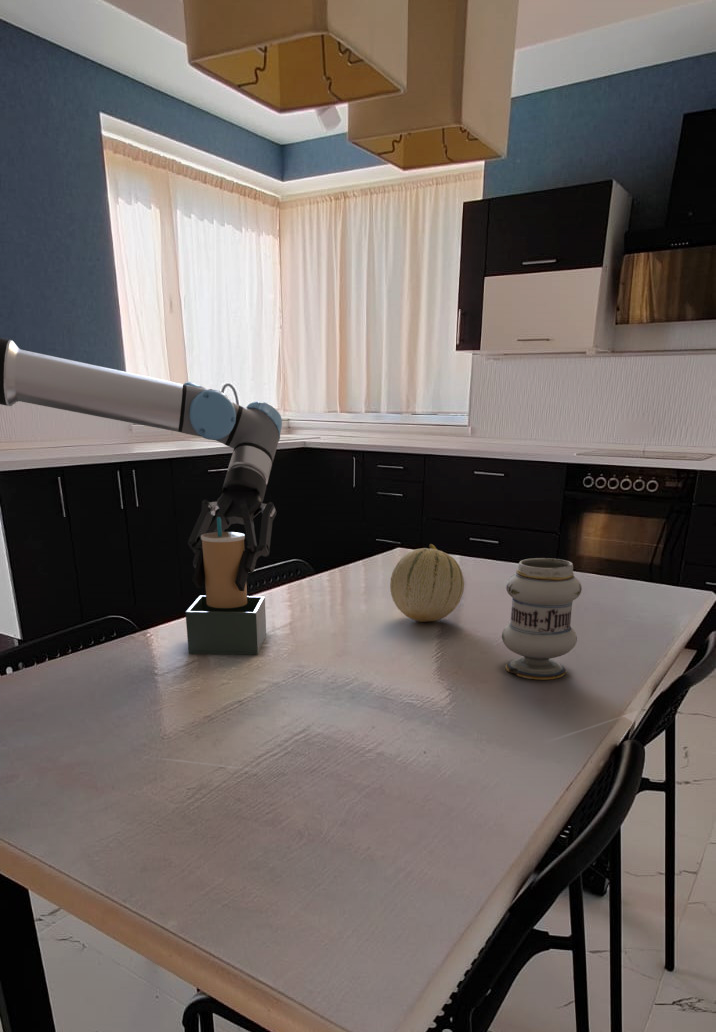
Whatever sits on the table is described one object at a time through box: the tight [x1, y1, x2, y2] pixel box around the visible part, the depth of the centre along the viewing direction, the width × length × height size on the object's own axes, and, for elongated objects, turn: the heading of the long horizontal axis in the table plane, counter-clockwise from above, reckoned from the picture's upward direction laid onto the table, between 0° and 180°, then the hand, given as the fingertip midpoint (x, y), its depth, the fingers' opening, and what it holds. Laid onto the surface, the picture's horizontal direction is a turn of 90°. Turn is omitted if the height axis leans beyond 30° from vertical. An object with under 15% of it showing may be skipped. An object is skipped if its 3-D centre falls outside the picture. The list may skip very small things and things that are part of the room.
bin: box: [185, 595, 267, 656], centre depth 139 cm, size 12×12×8 cm
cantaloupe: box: [389, 543, 465, 623], centre depth 155 cm, size 15×15×15 cm
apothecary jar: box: [501, 557, 583, 681], centre depth 125 cm, size 12×12×18 cm
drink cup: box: [201, 517, 248, 608], centre depth 135 cm, size 8×8×15 cm
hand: (217, 585), depth 133 cm, fingers closed on drink cup, 7 cm apart
